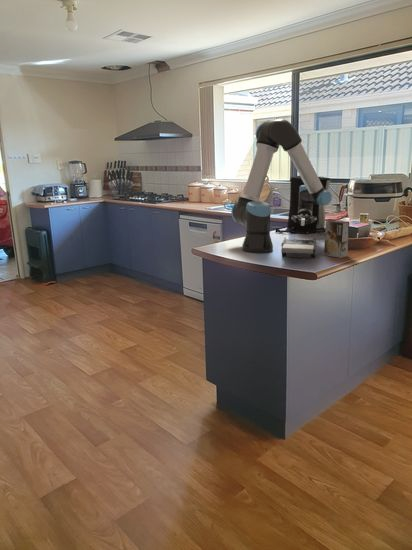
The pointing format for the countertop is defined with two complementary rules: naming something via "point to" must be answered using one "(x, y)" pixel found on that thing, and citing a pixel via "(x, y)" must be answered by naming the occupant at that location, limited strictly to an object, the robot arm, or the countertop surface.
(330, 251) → the coffee box
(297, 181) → the coffee maker
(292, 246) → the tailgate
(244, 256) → the countertop surface
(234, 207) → the robot arm
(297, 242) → the bed
